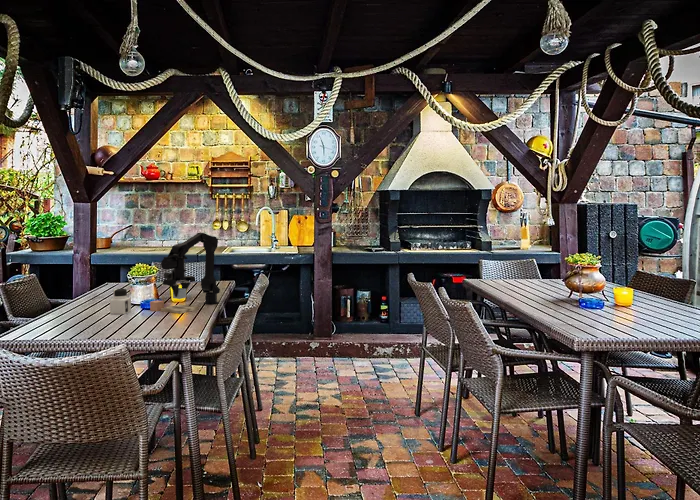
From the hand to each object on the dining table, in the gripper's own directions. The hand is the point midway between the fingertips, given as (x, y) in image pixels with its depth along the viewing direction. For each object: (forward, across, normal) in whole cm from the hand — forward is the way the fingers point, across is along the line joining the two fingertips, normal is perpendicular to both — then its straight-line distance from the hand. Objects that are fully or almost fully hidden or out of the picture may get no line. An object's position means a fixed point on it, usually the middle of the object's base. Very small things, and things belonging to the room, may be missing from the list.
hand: (179, 296), depth 300 cm
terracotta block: (+8, +6, -11) cm, 15 cm away
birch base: (+8, 0, 0) cm, 8 cm away
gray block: (+1, 0, 0) cm, 1 cm away
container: (+8, +21, -22) cm, 32 cm away
